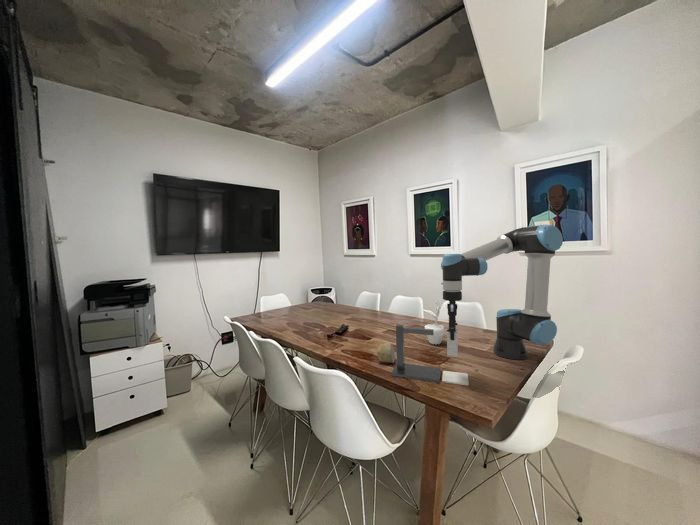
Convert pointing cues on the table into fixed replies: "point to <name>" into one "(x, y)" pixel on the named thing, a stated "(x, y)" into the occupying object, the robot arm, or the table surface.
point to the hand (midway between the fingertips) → (452, 343)
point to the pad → (455, 378)
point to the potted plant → (435, 328)
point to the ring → (452, 351)
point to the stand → (409, 369)
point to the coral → (386, 353)
